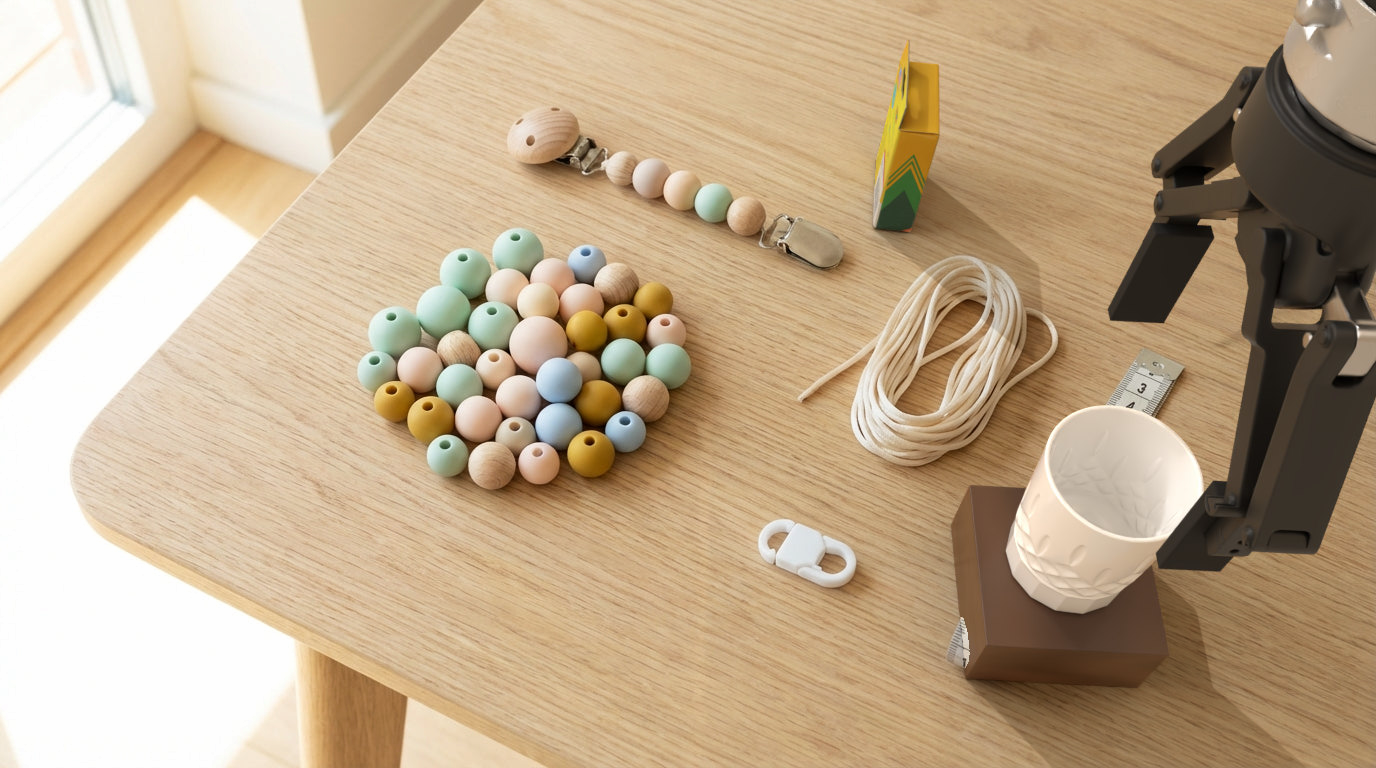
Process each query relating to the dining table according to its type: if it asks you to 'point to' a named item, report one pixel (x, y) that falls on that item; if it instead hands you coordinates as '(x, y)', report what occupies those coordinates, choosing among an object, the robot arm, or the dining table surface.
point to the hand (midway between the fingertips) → (1159, 431)
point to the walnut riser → (1044, 612)
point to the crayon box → (906, 145)
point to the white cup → (1100, 506)
